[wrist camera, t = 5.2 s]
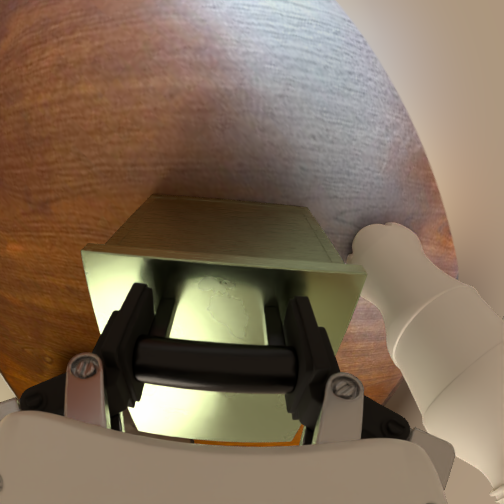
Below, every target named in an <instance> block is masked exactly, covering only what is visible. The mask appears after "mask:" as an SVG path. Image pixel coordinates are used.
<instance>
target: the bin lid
mask: <svg viewBox="0 0 504 504" xmlns="http://www.w3.org/2000/svg"><path fill="white" fill-rule="evenodd" d="M81 256H82V261H83V267H84V272H85V276H86V281H87V286H88V290H89V294H90V298H91V302H92V306H93V310H94V314H95V317H96V321H97V325H98V328H99V331H100V335H101V333H102V331H103V329H104V327H105V325H106V323H107V322H108V320H109V318H110V316H111V314H112V312H113V311H114V310H118V311H119V310H120V308H121V306H122V304H123V302H124V300H125V298H126V296H127V294H128V292H129V291H130V289H131V287H132V285H133V283H135V282H136V283H145V284H147V285H148V287H150V288H152V293H153V303H154V313H155V316H154V319H153V321H152V324H151V327H150V330H149V333H148V335H146V334H142V335H139V337H138V338H137V340H136V343H135V346H134V351H133V360H132V366H133V374H134V378H135V380H136V381H137V382H139V383H145V385H144V388H143V392H142V396H141V400H140V402H137V401H136V403H135V407H134V408H131V407H127V408H128V410H129V412H130V415H131V417H132V419H133V421H134V423H135V425H136V428H137V430H138V431H142V432H148V433H153V434H159V435H166V436H173V437H180V438H189V439H199V440H211V441H227V442H287V441H292V439H293V438H294V436H295V434H296V433H297V431H298V429H299V427H300V425H301V423H300V422H299V420H292V413H288V412H287V408H286V401H285V394H291V393H293V391H294V390H295V387H296V384H297V379H298V357H297V353H296V350H295V348H294V347H293V346H286V342H285V337H284V331H283V323H284V319H285V315H286V311H287V306H288V302H289V299H293V298H294V296H307V297H308V298H309V300H310V303H311V306H312V309H313V312H314V315H315V318H316V321H317V324H318V327H324V328H325V329H326V331H327V334H328V337H329V340H330V343H331V346H332V349H333V352H334V355H335V356H336V353H337V351H338V349H339V347H340V344H341V342H342V340H343V337H344V335H345V333H346V330H347V328H348V325H349V323H350V320H351V318H352V315H353V313H354V310H355V308H356V305H357V302H358V300H359V297H360V294H361V292H362V289H363V286H364V283H365V280H366V277H367V272H366V271H365V269H364V268H363V266H362V265H352V264H338V263H325V262H312V261H299V260H287V259H274V258H261V257H249V256H236V255H224V254H211V253H199V252H187V251H175V250H163V249H151V248H139V247H128V246H116V245H104V244H93V243H88V244H86V246H85V247H84V248H83V249H82V250H81Z"/></svg>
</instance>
